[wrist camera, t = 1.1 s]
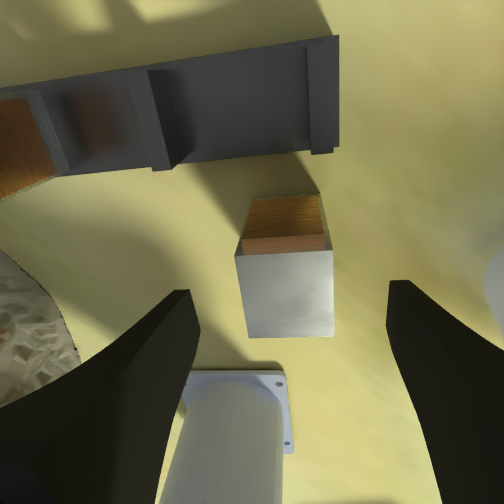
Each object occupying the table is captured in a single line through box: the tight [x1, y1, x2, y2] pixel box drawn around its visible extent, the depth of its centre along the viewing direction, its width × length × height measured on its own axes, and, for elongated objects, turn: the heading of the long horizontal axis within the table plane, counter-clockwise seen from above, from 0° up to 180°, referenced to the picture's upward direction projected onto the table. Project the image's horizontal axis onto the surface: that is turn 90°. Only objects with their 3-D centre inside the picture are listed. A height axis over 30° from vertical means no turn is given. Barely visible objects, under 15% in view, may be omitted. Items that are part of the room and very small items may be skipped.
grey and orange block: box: [234, 193, 334, 338], centre depth 15 cm, size 4×4×6 cm
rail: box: [0, 35, 339, 203], centre depth 12 cm, size 18×4×8 cm, turn 98°
